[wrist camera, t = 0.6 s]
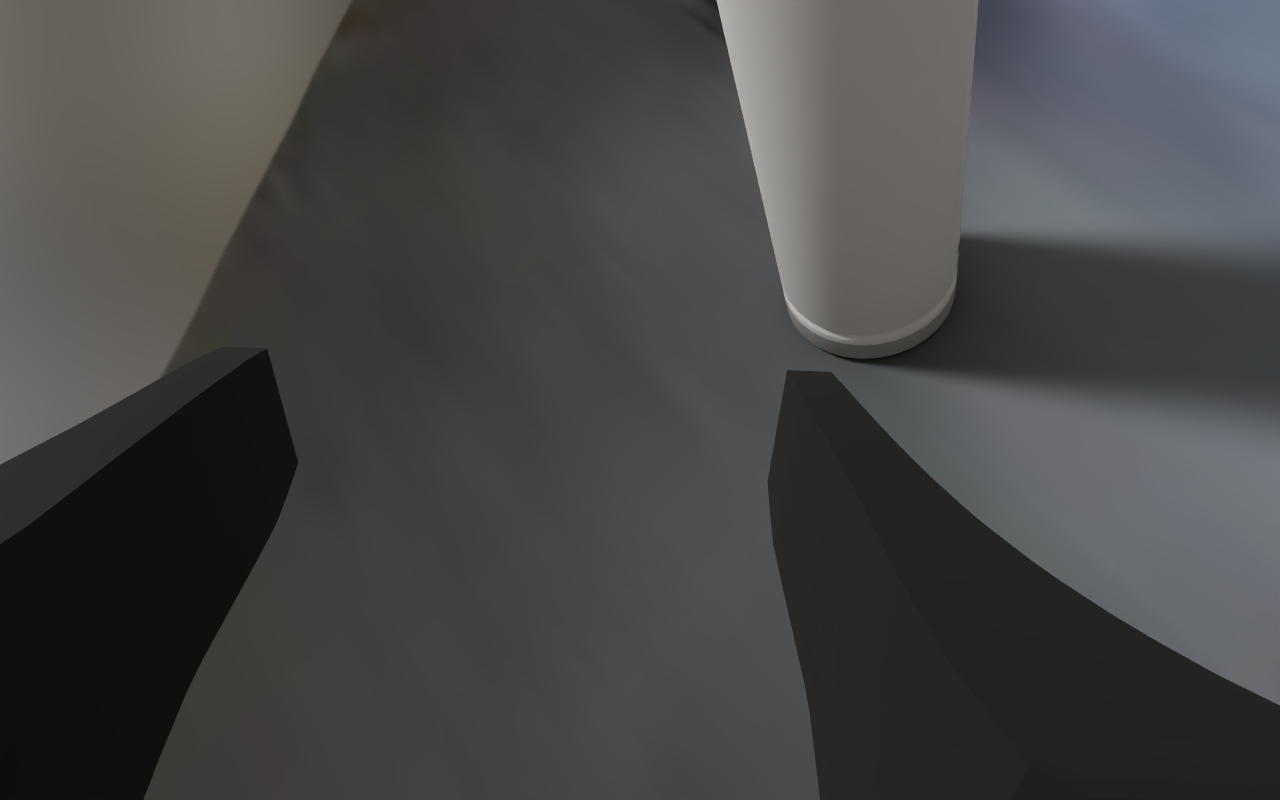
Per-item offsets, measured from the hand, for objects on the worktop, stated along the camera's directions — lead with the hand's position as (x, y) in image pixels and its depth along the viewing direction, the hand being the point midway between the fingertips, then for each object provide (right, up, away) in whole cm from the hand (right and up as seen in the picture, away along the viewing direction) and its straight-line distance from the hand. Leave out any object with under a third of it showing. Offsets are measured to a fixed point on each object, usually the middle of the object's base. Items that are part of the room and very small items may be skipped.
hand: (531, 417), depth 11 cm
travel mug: (+11, +4, +20) cm, 23 cm away
